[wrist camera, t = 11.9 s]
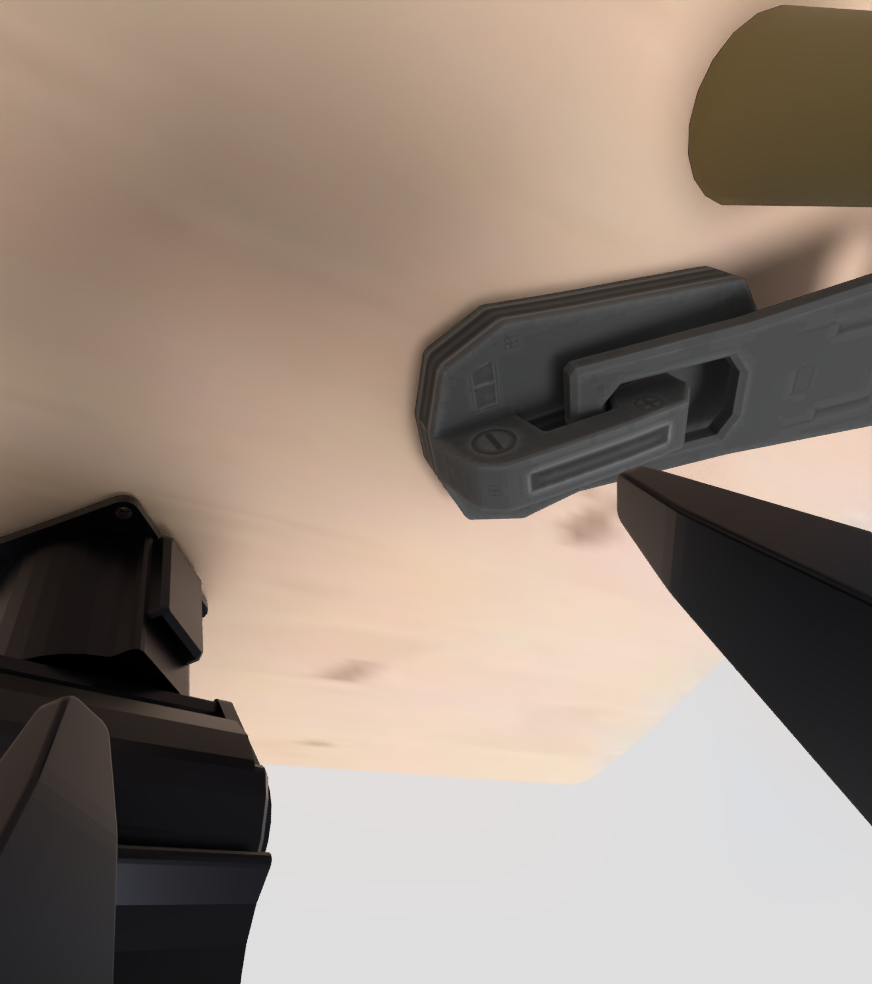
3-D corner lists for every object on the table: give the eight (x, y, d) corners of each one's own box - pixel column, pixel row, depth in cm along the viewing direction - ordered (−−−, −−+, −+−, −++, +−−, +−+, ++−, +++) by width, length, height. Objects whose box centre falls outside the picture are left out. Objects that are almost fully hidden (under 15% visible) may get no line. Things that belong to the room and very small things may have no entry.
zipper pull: (1008, 410, 25) (495, 618, 21) (870, 357, 30) (435, 515, 26) (1124, 188, 20) (462, 408, 16) (932, 168, 25) (395, 330, 21)
